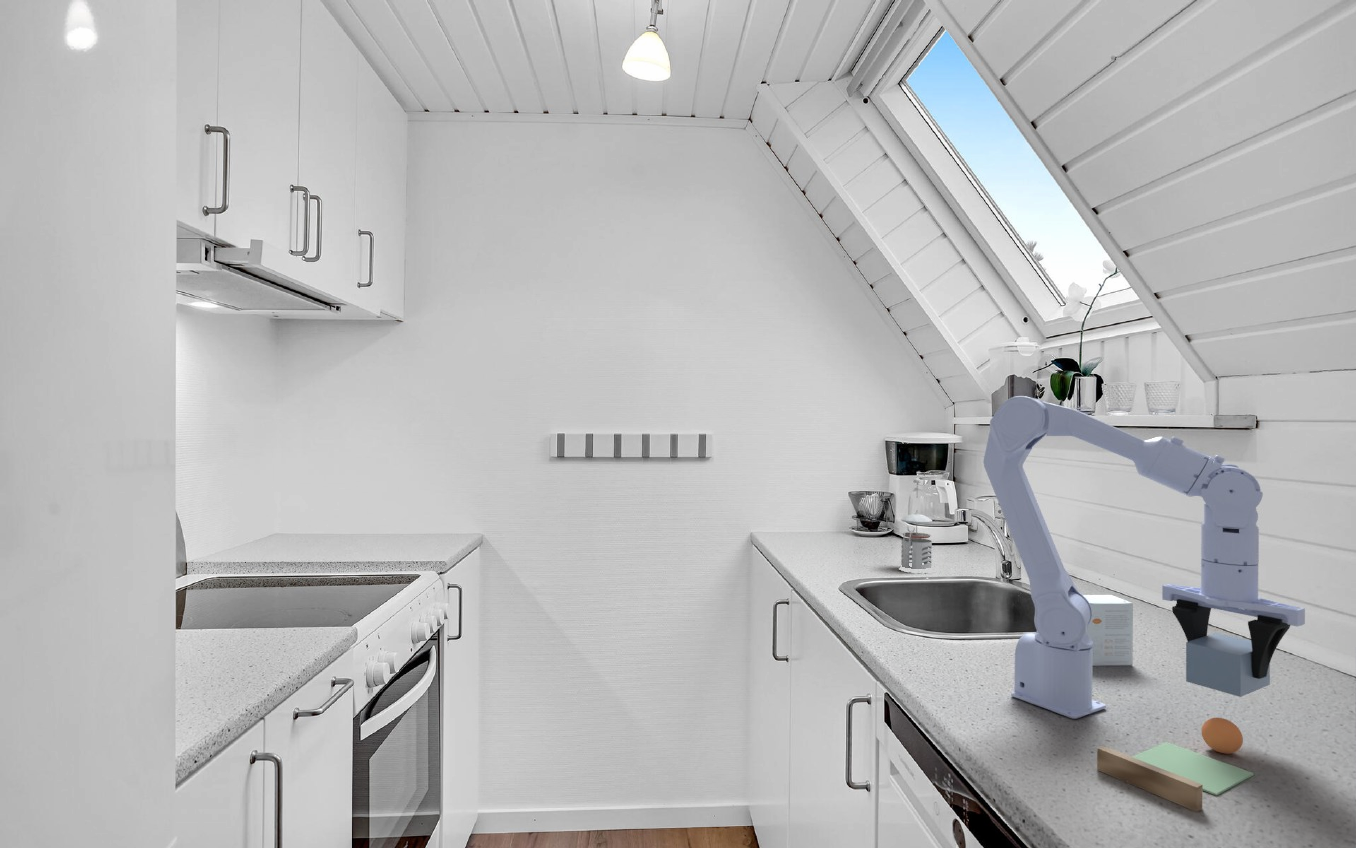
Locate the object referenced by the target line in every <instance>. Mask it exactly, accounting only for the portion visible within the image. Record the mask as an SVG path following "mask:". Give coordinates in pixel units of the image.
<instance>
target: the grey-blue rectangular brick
mask: <svg viewBox="0 0 1356 848" xmlns="http://www.w3.org/2000/svg"><path fill="white" fill-rule="evenodd" d="M1185 646H1186V647H1185V650H1186V651H1185V656H1186V657H1185V668H1186V669H1185V670H1186V671H1185V674H1186V675H1185V676H1186V677H1185V681H1186V682H1187V683H1191V684H1193V685H1197V686H1201V687H1204V688H1207V689H1212V690H1214V691H1219V692H1222V693H1226V694H1228V695H1232V696H1236V697H1239V698H1241V697H1244V696H1246V695H1249V694H1251V693H1254V692H1256V691H1258V690H1260V689H1262V688H1265V687H1268V686H1270V685H1271V681H1270V680H1271V678H1270V677H1271V673H1270V672H1271V669H1270V668H1271V663H1270V664H1269V667H1268V671H1267V676H1266V677H1264V678H1261V679H1257V678H1253V676H1252V643H1251V639H1250V640H1249V639H1245V638H1240V637H1236V636H1231V635H1228V634H1227V635H1226V634H1223V633H1218V632H1214V633H1212V634H1207V636H1204V637H1201V638H1198V639H1195V640H1192V641H1189V642H1188V641H1186V642H1185Z"/></svg>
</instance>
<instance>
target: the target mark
mask: <svg viewBox="0 0 1356 848" xmlns="http://www.w3.org/2000/svg"><path fill="white" fill-rule="evenodd" d="M1132 757H1133V758H1136V759H1138V760H1141V761H1143V762H1146V763H1148V764H1151V765H1154V766H1156V767H1159V768H1161V769H1164V770H1166V771H1169V772H1171V773H1174V774H1177V775H1179V776H1182V777H1184V778H1187V779H1189V780H1192V781H1194V782H1197V783H1200V784H1202V785H1203V791H1204V792H1206V793H1209V794H1211V795H1214V796H1219V795H1220V794H1222V793H1223V792H1226V791H1228V790H1229V789H1231V788H1233V787H1234V786H1236V785H1238V784H1240V783H1242V782H1244V781H1245V780H1247V779H1249V778H1251V777H1253V776H1254V775H1255V773H1253V772H1251V771H1249V770H1246V769H1243V768H1240V767H1237V766H1234V765H1231V764H1228V763H1226V762H1223V761H1220V760H1219V759H1215V758H1212V757H1209V756H1206V755H1204V754H1201V753H1199V752H1195V751H1193V750H1191V749H1187V748H1185V747H1181V746H1179V745H1176V744H1173V743H1170V742H1167V741H1165V742H1162V743H1160V744H1158V745H1156V746H1154V747H1151V748H1149V749H1147V750H1145V751H1142V752H1139V753H1137V754H1135V755H1133V756H1132ZM1203 791H1202V792H1203Z"/></svg>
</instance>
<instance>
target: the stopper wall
mask: <svg viewBox="0 0 1356 848" xmlns="http://www.w3.org/2000/svg"><path fill="white" fill-rule="evenodd" d="M1096 750H1097V755H1096V756H1097V758H1096V759H1097V761H1096V764H1097V766H1096V770H1097V771H1099V772H1102V773H1104V774H1106V775H1109V776H1111V777H1113V778H1115V779H1118V780H1119V781H1122V782H1125V783H1127V784H1130V785H1132V786H1134V787H1137V788H1139V789H1142V790H1143V791H1146V792H1149V793H1151V794H1154V795H1155V796H1159V797H1160V798H1163V799H1164V800H1167V801H1170V802H1172V803H1175V804H1177V805H1179V806H1182V807H1184V808H1187V809H1189V810H1191V811H1193V812H1196V813H1198V812H1199V811H1202V810H1203V785H1202V784H1200V783H1197V782H1194V781H1192V780H1189V779H1187V778H1184V777H1182V776H1179V775H1177V774H1174V773H1171V772H1169V771H1166V770H1164V769H1161V768H1159V767H1156V766H1154V765H1151V764H1148V763H1146V762H1143V761H1141V760H1138V759H1136V758H1133V756H1130V755H1127V754H1125V753H1122V752H1120V751H1118V750H1116V749H1112V748H1110V747H1107V746H1105V745H1101V746H1099V747H1097V749H1096Z"/></svg>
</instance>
